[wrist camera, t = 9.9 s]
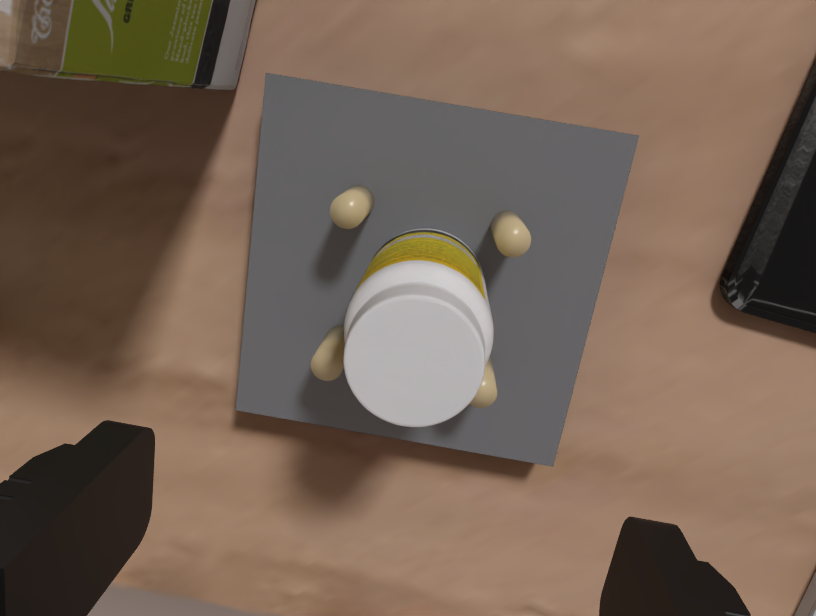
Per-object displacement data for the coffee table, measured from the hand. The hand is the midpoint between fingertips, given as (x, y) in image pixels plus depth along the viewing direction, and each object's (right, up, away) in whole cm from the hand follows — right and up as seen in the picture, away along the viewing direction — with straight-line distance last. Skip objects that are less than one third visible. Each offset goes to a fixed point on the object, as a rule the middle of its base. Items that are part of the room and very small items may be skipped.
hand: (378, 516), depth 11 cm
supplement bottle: (+1, +4, +15) cm, 16 cm away
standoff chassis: (+1, +5, +17) cm, 18 cm away
